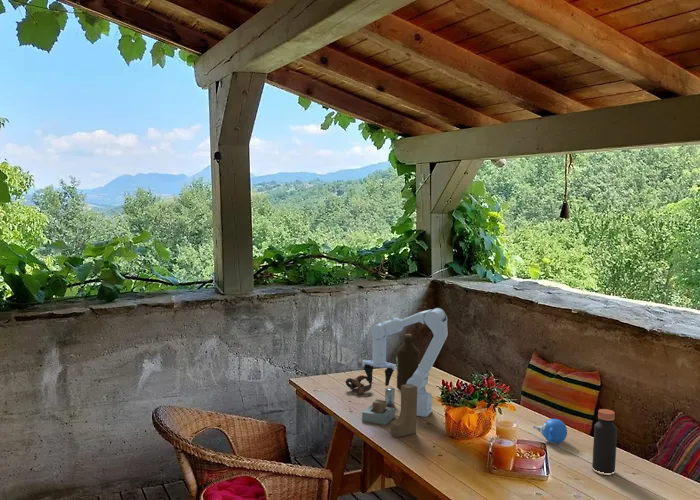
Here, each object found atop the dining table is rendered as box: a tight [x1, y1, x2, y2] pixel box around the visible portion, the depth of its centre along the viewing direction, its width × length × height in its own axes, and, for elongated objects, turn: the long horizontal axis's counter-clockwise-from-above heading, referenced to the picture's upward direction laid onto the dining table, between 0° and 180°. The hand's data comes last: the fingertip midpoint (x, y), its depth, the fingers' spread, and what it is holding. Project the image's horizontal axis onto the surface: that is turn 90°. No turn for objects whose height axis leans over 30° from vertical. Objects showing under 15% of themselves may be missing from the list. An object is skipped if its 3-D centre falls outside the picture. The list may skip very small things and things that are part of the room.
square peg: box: [372, 399, 387, 413], centre depth 240 cm, size 4×4×7 cm
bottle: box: [591, 408, 618, 473], centre depth 195 cm, size 7×7×20 cm
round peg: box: [384, 387, 396, 408], centre depth 256 cm, size 4×4×7 cm
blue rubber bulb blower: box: [532, 418, 568, 444], centre depth 220 cm, size 12×12×8 cm
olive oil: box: [395, 333, 420, 390], centre depth 280 cm, size 11×11×25 cm
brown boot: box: [389, 384, 418, 438], centre depth 224 cm, size 9×4×18 cm, turn 120°
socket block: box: [361, 403, 396, 426], centre depth 240 cm, size 10×10×4 cm
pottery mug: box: [345, 374, 373, 395], centre depth 273 cm, size 12×10×8 cm
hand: (378, 384), depth 254 cm, fingers open, 7 cm apart
